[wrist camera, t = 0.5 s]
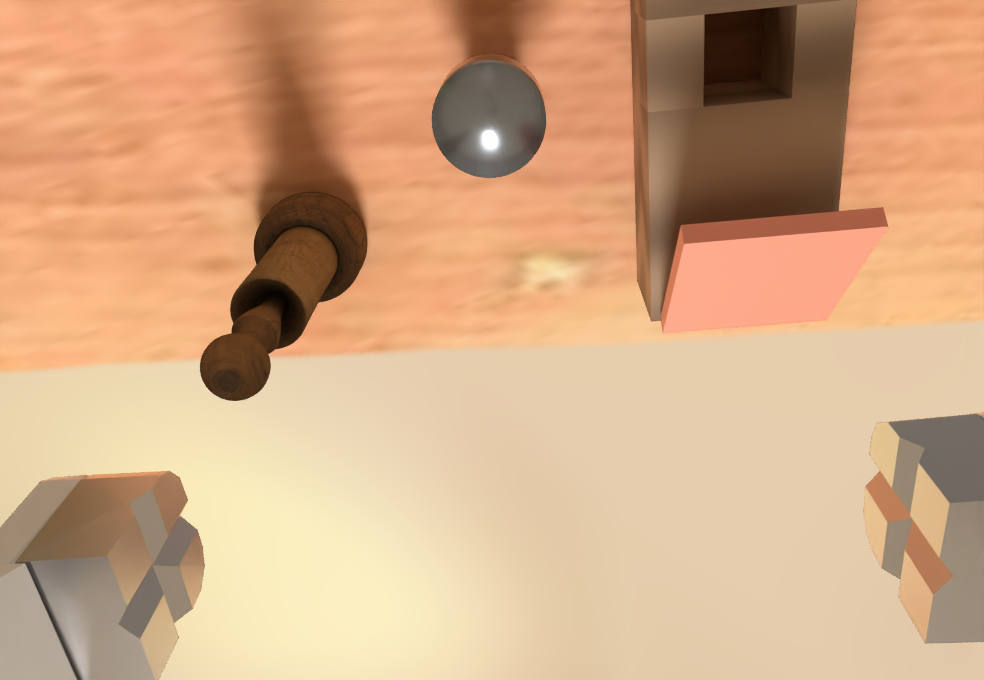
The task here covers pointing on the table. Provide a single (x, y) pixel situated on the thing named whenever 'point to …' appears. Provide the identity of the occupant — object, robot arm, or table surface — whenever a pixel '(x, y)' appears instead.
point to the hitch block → (734, 123)
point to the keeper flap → (767, 269)
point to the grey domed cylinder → (489, 116)
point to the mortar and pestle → (284, 288)
